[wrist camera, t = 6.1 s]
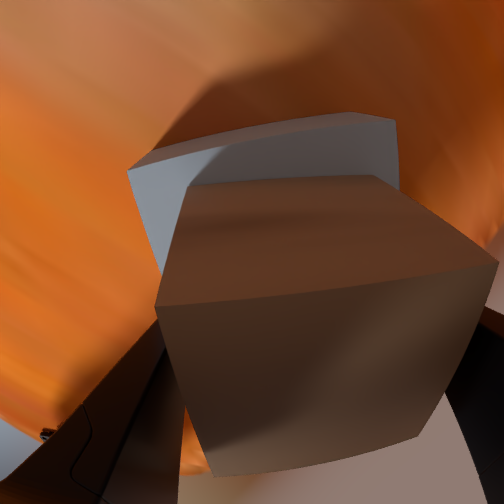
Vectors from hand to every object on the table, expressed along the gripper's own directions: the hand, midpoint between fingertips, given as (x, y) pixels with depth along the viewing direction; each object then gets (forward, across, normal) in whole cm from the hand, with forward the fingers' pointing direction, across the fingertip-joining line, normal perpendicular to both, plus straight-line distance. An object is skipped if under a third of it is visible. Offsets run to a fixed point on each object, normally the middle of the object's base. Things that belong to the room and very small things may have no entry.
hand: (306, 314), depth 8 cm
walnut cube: (+3, 0, 0) cm, 3 cm away
